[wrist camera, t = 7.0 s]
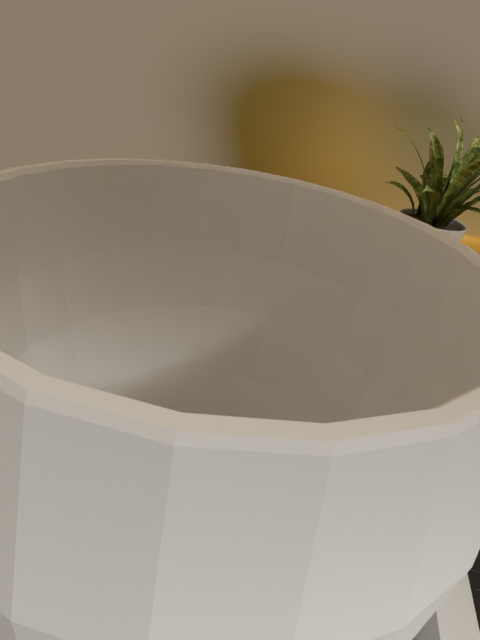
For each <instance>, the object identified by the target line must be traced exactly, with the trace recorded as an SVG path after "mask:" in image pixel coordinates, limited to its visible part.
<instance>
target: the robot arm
mask: <svg viewBox="0 0 480 640" xmlns="http://www.w3.org/2000/svg"><path fill="white" fill-rule="evenodd" d="M412 640H480V549H479V552H478V554H477V557H476V559H475V561H474V564H473V566H472V568H471V569H470V570H469V571H468V573H467V574H466V575H465V576H464V577H463V579H462V580H461V581H460V582H459V583H458V585H457V586H456V587H455V588H454V590H453V591H452V592H451V593H450V594H449V596H448V597H447V598H446V599H445V600H444V602H443V603H442V604H441V605H440V607H439V608H438V609H437V610H436V611H435V613H434V614H433V615H432V616H431V617H430V619H429V620H428V621H427V622H426V623H425V625H424V626H423V627H422V628H421V630H420V631H419V632H418V633H417V634H416V636H415V637H414V638H413V639H412Z"/></svg>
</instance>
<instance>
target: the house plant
mask: <svg viewBox="0 0 480 640" xmlns="http://www.w3.org/2000/svg"><path fill="white" fill-rule="evenodd" d="M461 119H462V118H461ZM455 124H456V128H457V132H458V143H457V148H456V153H455V157H454V161H453V165H452V168H451V171H447V172H446V173H444V174H443V164H444V155H443V148H442V146H441V144H440V142H439V140H438V138H437V136H436V134H435V132H434V131H432V130H431V129H429V128H428V129H429V132H430V138H431V144H430V161H429V162H428V163H427V165H426V167H425V168H424V166H423V163H422V166H423V169H424V172H423V175H420V177H421V178H422V182H423V187H422V185H421V183H420V182H419V181H418V180H417V179H416V178H414V177H413V176H412V175H411V174H410V173H408V172H407V171H405V170H403V169H401V168H398V167H396V168H397V170H399V171H400V172H401V173H402V174H403V176H404V178H405V179H406V180H407V181H408V182H409V183H410V184H411V185H412V187H413V188H414V190H415V193H416V196H417V198H418V200H419V206H418V209H414V203H413V200H412V197H411V195H410V194H409V192H408V191H407V189H406V188H405V187H404V186H403V185H401V184H400V183H397V182H394V181H393V182H387V183H391V184H393V185H395V186H397V187H399V188H400V189H402V190H403V191H404V192H405V193H406V194H407V195H408V197H409V198H410V201H411V203H412V207H413V209H402V210H401V211H400V212H401V213H403V214H405V215H408V216H410V217H412V218H415V219H417V220H419V221H422V222H424V223H426V224H429V225H431V226H432V227H434V228H436V229H438V230H440V231H441V232H443V233H445V234H447V235H449V236H450V237H452V238H454V239H456V240H458V241H459V242H460V241H461V239H462V238H463V236H464V234H465V233H466V231H467V229H468V228H467V226H466V225H465V224H463V223H462V222H460V221H458V220H456V219H455V218H456V217H457V216H459V215H460V214H461V213H463V212H464V211H465V210H472V211H475V212H478V213H480V209H478V208H474V207H471V206H472V205H474V204H476V203H477V202H479V201H480V196H479V197H476V198H475V199H473V200H472V201H470V202H467V203H465V204H463V203H464V202H465V201H466V200H467V199H469V198H470V197H471V196H472V195H473V194H475V193H477V192H480V191H479V189H480V184H479V185H478V186H477V187H475V188H474V189H469V188H470V187H471V186H472V185H473V184H475V183H476V182H477V181H479V180H480V178H479V179H478V180H476V181H475V182H474V183H472V182H473V181H474V179H476V177H478V175H480V138H479V137H477V138H475V139H474V140H473V142H472V143H471V145H470V147H469V149H468V151H467V153H466V154H465V156H464V157H463V159H462V160H461V156H462V149H463V139H462V138H463V133H462V135H461V131H460V129H459V126H458V124H457V123H456V121H455ZM462 127H463V121H462ZM403 132H404V131H403ZM462 132H463V128H462ZM404 133H405V132H404ZM406 135H407V134H406ZM407 136H408V135H407ZM408 137H409V136H408ZM409 139H410V138H409ZM410 140H411V139H410ZM411 141H412V140H411ZM412 143H413V142H412ZM413 145H414V143H413ZM415 149H416V147H415ZM416 151H417V149H416ZM417 153H418V151H417ZM418 155H419V153H418ZM419 157H420V155H419ZM420 159H421V158H420ZM460 160H461V162H460ZM421 162H422V160H421ZM474 171H475V172H474ZM430 173H431V177H430ZM442 175H443V176H442ZM470 183H472V184H471V185H470ZM468 185H470V186H469V187H467V186H468ZM466 187H467V188H466ZM465 188H466V189H465ZM464 189H465V190H464ZM467 189H468V190H467ZM463 190H464V191H463ZM462 191H463V192H462ZM462 204H463V205H462Z"/></svg>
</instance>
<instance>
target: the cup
mask: <svg viewBox="0 0 480 640" xmlns="http://www.w3.org/2000/svg"><path fill="white" fill-rule="evenodd" d="M479 549H480V255H479V254H478V253H477V252H475V251H474V250H473V249H471V248H470V247H468V246H467V245H465V244H463V243H461V242H459V241H458V240H456V239H454V238H452V237H450V236H449V235H447V234H445V233H443V232H441V231H440V230H438V229H436V228H434V227H432V226H431V225H429V224H426V223H424V222H422V221H419V220H417V219H415V218H412V217H410V216H408V215H405V214H403V213H401V212H398V211H396V210H394V209H391V208H389V207H386V206H384V205H381V204H378V203H375V202H372V201H369V200H366V199H363V198H360V197H357V196H354V195H351V194H348V193H345V192H342V191H339V190H335V189H331V188H327V187H323V186H320V185H316V184H313V183H309V182H305V181H301V180H297V179H292V178H287V177H283V176H278V175H273V174H268V173H263V172H258V171H253V170H247V169H240V168H233V167H226V166H219V165H213V164H205V163H194V162H181V161H171V160H158V159H115V158H114V159H113V158H109V159H89V160H68V161H57V162H50V163H42V164H36V165H28V166H21V167H13V168H9V169H6V170H2V171H0V640H412V639H413V638H414V637H415V636H416V634H417V633H418V632H419V631H420V630H421V628H422V627H423V626H424V625H425V623H426V622H427V621H428V620H429V619H430V617H431V616H432V615H433V614H434V613H435V611H436V610H437V609H438V608H439V607H440V605H441V604H442V603H443V602H444V600H445V599H446V598H447V597H448V596H449V594H450V593H451V592H452V591H453V590H454V588H455V587H456V586H457V585H458V583H459V582H460V581H461V580H462V579H463V577H464V576H465V575H466V574H467V573H468V571H469V570H470V569H471V568H472V566H473V564H474V561H475V559H476V557H477V554H478V552H479Z"/></svg>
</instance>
